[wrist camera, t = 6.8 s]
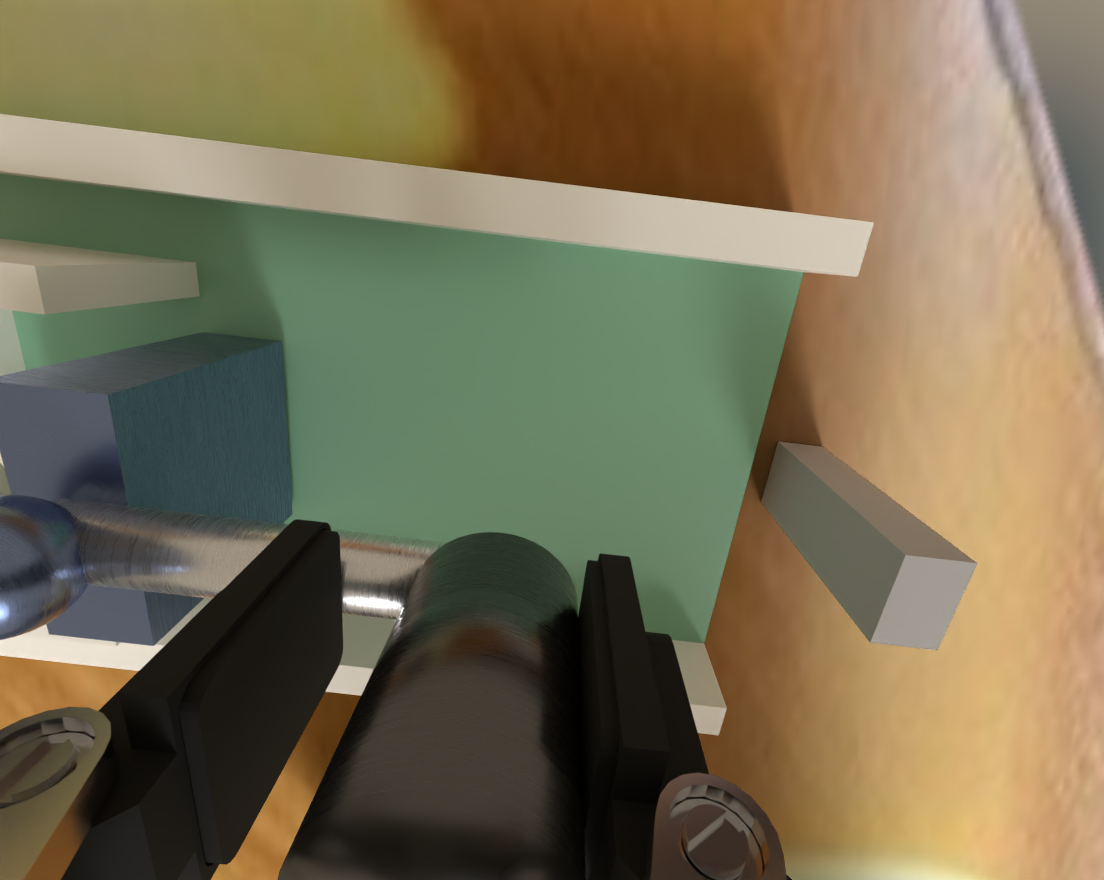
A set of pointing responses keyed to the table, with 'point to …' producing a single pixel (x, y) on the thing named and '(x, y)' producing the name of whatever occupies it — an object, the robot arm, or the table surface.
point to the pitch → (470, 363)
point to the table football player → (367, 590)
